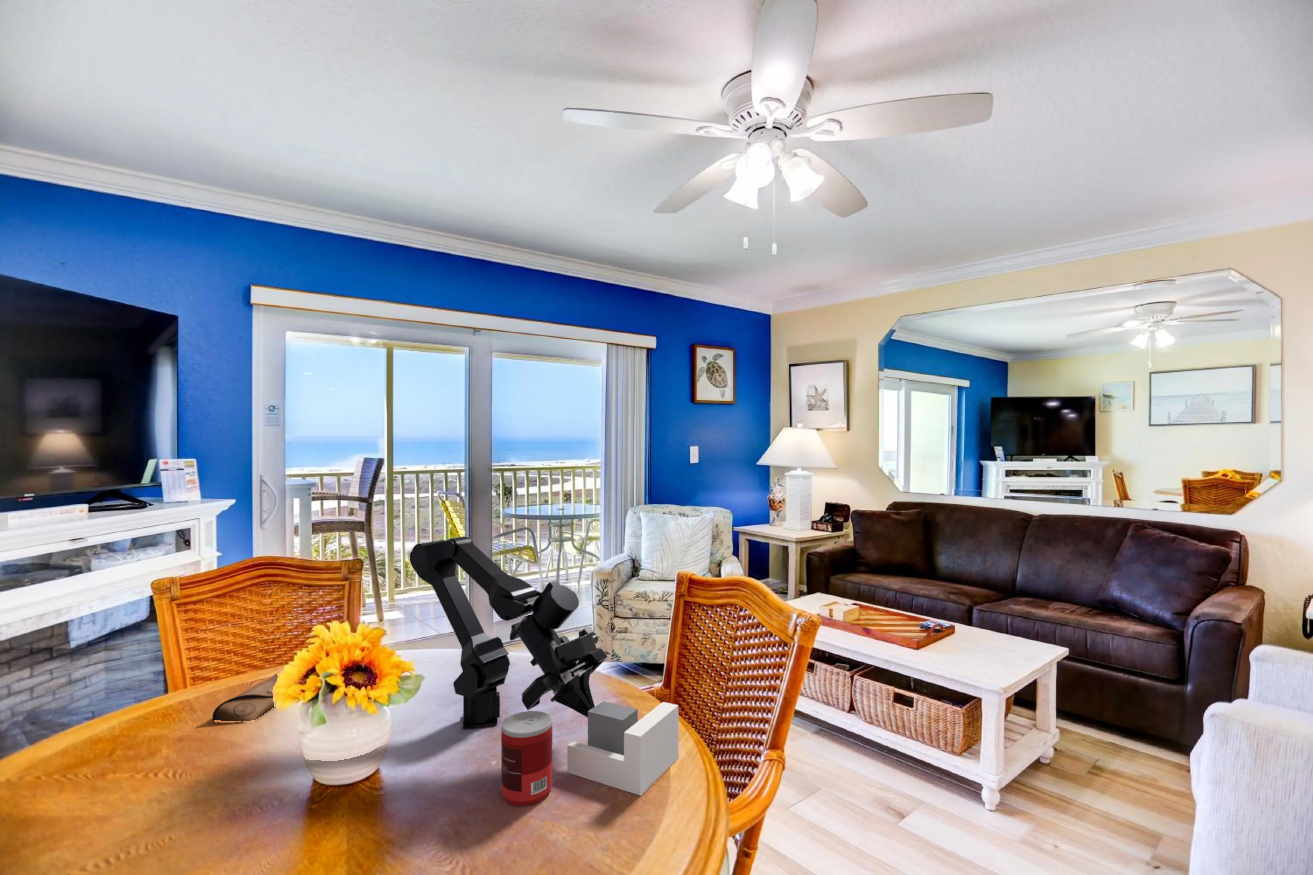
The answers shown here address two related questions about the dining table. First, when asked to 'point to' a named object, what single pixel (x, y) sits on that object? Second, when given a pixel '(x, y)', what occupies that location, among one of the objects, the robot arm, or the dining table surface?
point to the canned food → (526, 758)
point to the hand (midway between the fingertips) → (594, 717)
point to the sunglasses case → (248, 703)
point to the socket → (632, 753)
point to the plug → (610, 726)
